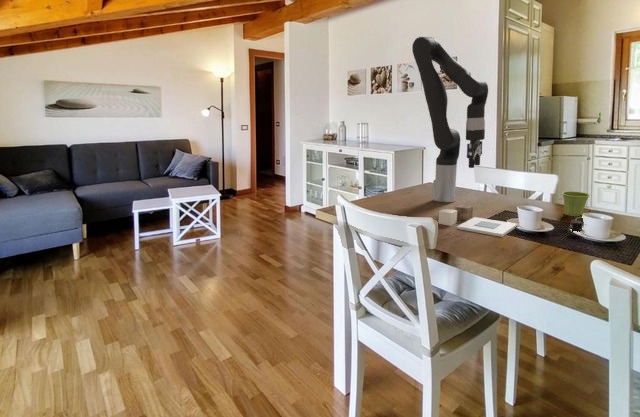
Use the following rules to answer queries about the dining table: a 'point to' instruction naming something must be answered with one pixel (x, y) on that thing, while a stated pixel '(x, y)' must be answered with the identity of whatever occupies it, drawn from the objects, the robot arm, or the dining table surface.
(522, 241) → the dining table surface
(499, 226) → the board
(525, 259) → the dining table surface
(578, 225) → the black irregular block
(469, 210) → the walnut block
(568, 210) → the plant pot
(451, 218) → the cream block
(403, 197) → the dining table surface
